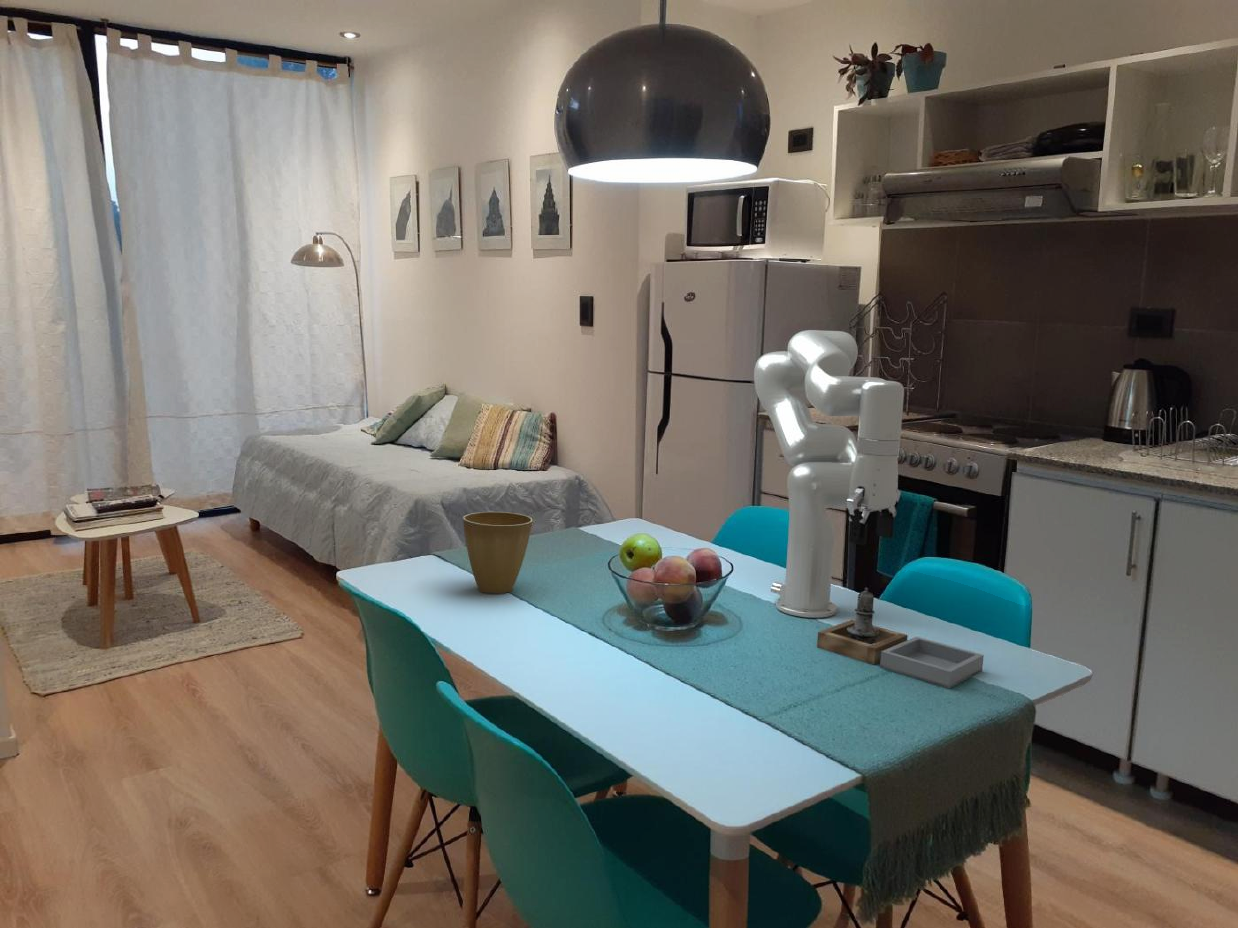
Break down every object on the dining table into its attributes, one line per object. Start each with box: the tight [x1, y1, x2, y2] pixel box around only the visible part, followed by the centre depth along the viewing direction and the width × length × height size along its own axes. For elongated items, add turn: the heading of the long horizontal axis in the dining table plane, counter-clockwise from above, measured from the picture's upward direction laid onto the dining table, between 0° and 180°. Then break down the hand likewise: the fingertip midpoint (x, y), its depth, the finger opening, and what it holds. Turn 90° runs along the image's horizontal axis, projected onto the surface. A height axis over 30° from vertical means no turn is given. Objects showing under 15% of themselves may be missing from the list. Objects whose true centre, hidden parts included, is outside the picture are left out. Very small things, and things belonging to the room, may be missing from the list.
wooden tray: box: [816, 619, 909, 665], centre depth 184 cm, size 12×12×3 cm
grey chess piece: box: [847, 586, 879, 645], centre depth 183 cm, size 6×6×12 cm
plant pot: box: [462, 511, 533, 595], centre depth 212 cm, size 15×15×16 cm
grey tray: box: [879, 636, 985, 689], centre depth 174 cm, size 13×13×3 cm
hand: (871, 540), depth 181 cm, fingers open, 9 cm apart
